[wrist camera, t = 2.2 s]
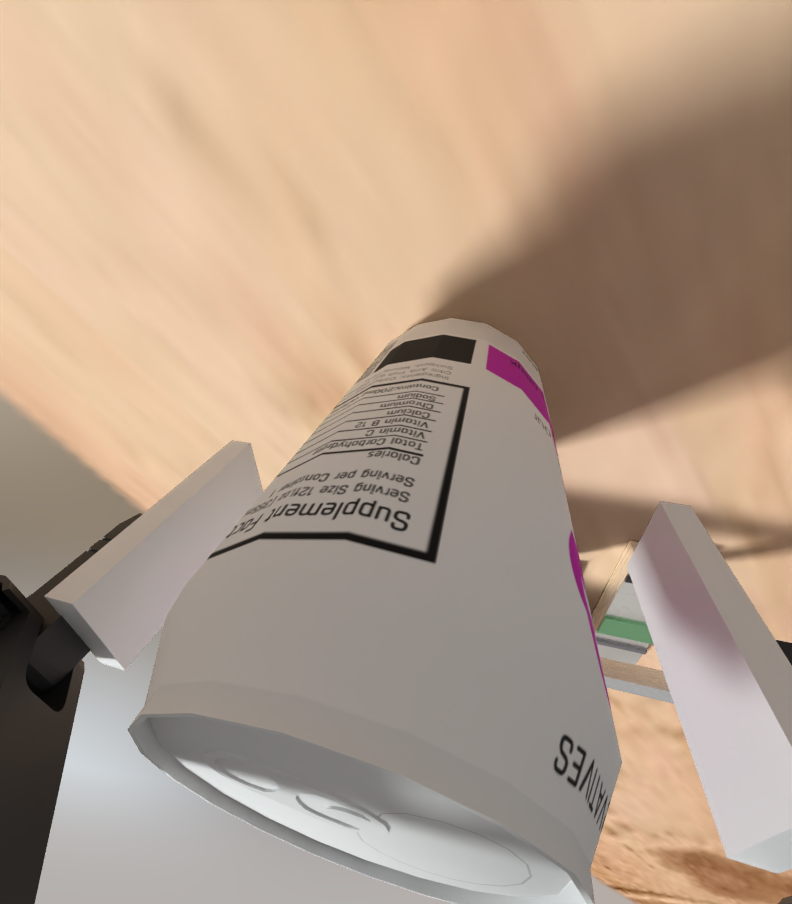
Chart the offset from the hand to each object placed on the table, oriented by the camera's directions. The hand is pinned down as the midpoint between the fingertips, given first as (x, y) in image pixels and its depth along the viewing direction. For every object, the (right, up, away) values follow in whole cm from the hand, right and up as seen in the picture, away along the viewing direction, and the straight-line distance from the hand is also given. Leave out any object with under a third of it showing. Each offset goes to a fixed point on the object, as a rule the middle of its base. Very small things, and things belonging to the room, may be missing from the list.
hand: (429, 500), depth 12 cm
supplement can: (+2, +4, +6) cm, 7 cm away
